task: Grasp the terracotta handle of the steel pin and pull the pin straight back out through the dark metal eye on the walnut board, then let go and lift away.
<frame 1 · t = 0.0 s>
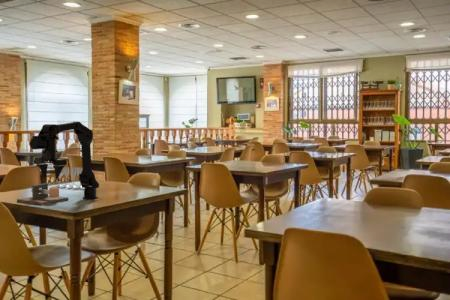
hand: (50, 178, 250), 15 cm above the table, fingers open, 9 cm apart
eye board: (44, 201, 266), on the table
pin: (44, 191, 265), point 6 cm above the table, slide at 0.0 cm
goblet set: (73, 186, 324), on the table
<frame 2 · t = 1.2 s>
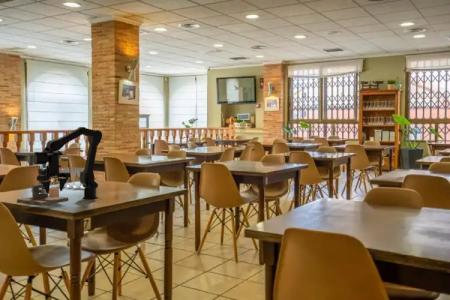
hand: (54, 192, 262), 6 cm above the table, fingers open, 9 cm apart
nothing on the table moved.
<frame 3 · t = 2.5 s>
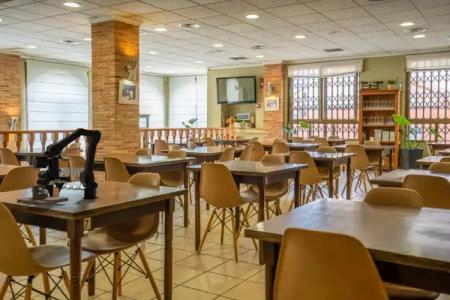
hand: (54, 196, 262), 4 cm above the table, fingers closed on pin, 4 cm apart
pin: (44, 191, 265), point 6 cm above the table, slide at 0.0 cm, touching gripper
everything else where it was.
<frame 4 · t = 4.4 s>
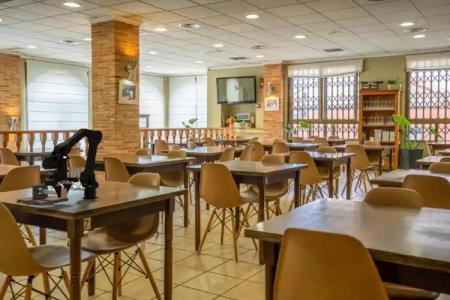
hand: (62, 197, 259), 4 cm above the table, fingers closed on pin, 4 cm apart
pin: (52, 192, 263), point 6 cm above the table, slide at 6.1 cm, touching gripper
everything else where it was.
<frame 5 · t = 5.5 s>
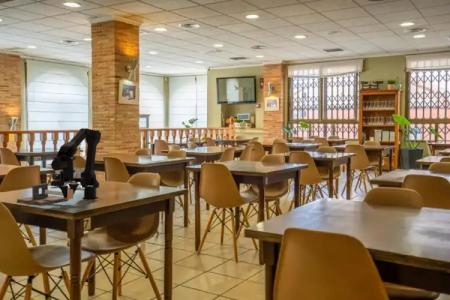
hand: (68, 197, 257), 4 cm above the table, fingers closed on pin, 4 cm apart
pin: (58, 192, 260), point 6 cm above the table, slide at 10.8 cm, touching gripper
everything else where it was.
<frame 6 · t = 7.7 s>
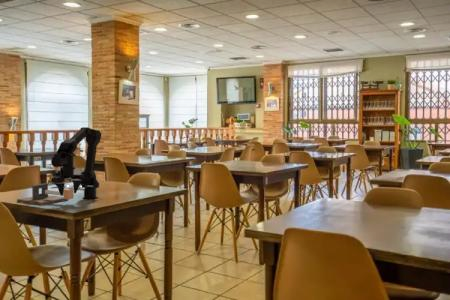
hand: (68, 194, 256), 5 cm above the table, fingers open, 9 cm apart
pin: (58, 192, 260), point 5 cm above the table, slide at 11.0 cm
everything else where it was.
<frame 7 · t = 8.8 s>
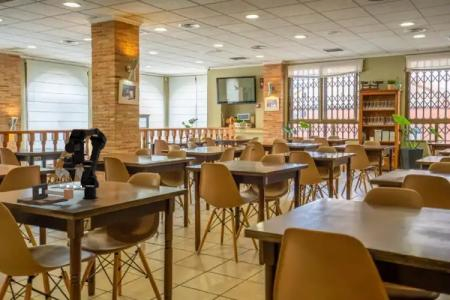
hand: (79, 180, 263), 12 cm above the table, fingers open, 9 cm apart
nothing on the table moved.
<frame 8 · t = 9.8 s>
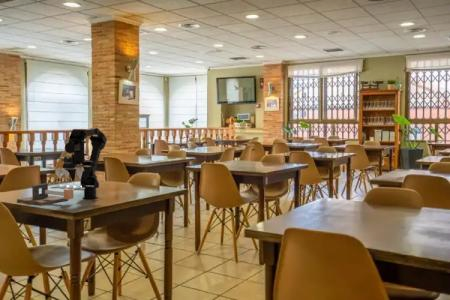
hand: (79, 180, 263), 12 cm above the table, fingers open, 9 cm apart
nothing on the table moved.
at the end: pin slide at 11.0 cm; the gripper is holding nothing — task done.
